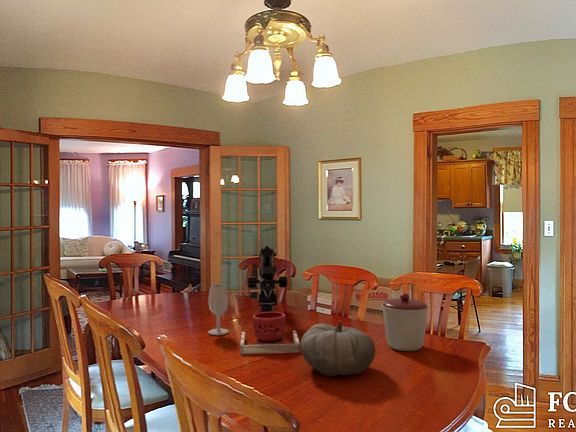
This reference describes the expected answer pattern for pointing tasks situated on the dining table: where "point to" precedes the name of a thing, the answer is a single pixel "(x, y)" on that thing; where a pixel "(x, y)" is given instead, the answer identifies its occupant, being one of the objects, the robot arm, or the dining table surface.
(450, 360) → the dining table surface
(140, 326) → the dining table surface
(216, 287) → the wineglass
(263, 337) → the plant pot
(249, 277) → the robot arm
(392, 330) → the canister
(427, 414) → the dining table surface
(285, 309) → the dining table surface
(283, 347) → the frame
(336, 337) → the gourd
